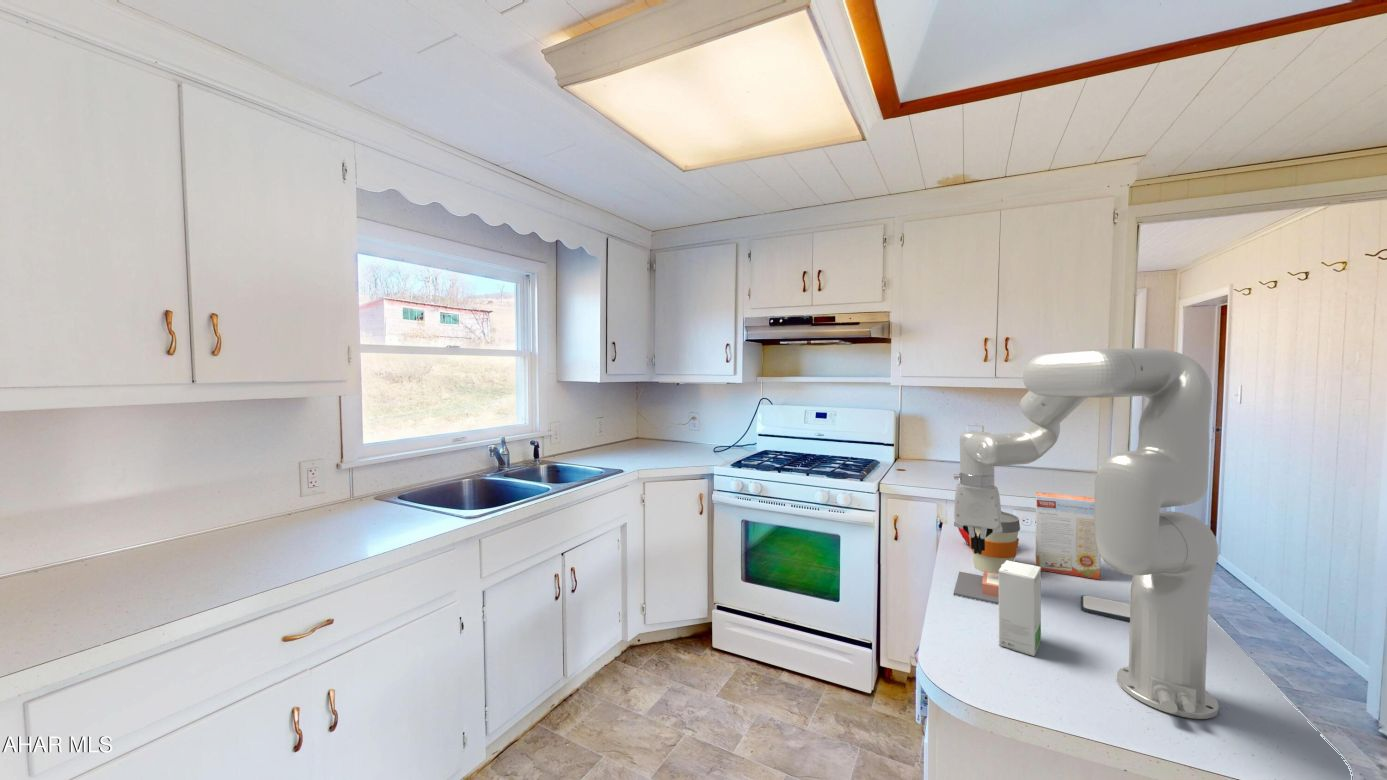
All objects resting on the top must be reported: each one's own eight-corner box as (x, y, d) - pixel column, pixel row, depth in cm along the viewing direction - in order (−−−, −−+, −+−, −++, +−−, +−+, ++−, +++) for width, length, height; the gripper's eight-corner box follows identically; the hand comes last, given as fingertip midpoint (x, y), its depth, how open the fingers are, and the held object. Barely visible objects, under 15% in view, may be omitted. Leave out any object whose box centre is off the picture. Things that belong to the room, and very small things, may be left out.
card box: (981, 593, 122) (1014, 600, 118) (982, 583, 122) (1015, 589, 118) (983, 580, 129) (1014, 586, 126) (983, 570, 129) (1014, 575, 126)
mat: (1026, 610, 115) (1026, 608, 114) (953, 595, 123) (953, 592, 123) (1025, 586, 127) (1025, 583, 127) (959, 573, 135) (959, 571, 135)
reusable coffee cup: (1020, 581, 130) (1021, 525, 129) (965, 572, 136) (966, 518, 136) (1018, 565, 140) (1019, 513, 140) (968, 556, 147) (968, 507, 146)
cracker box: (1097, 572, 134) (1098, 496, 133) (1100, 581, 129) (1102, 502, 128) (1034, 562, 142) (1035, 490, 141) (1035, 570, 137) (1036, 495, 136)
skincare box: (1034, 657, 96) (1035, 579, 96) (995, 645, 101) (996, 570, 100) (1041, 640, 102) (1042, 566, 102) (1004, 628, 107) (1005, 558, 106)
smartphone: (1080, 614, 114) (1177, 635, 104) (1080, 607, 114) (1177, 628, 104) (1080, 600, 121) (1171, 618, 111) (1080, 593, 121) (1171, 611, 111)
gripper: (942, 480, 126) (943, 551, 127) (1011, 486, 118) (1012, 562, 118) (946, 475, 132) (946, 543, 133) (1012, 480, 124) (1013, 553, 125)
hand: (978, 552), depth 126 cm, fingers closed
